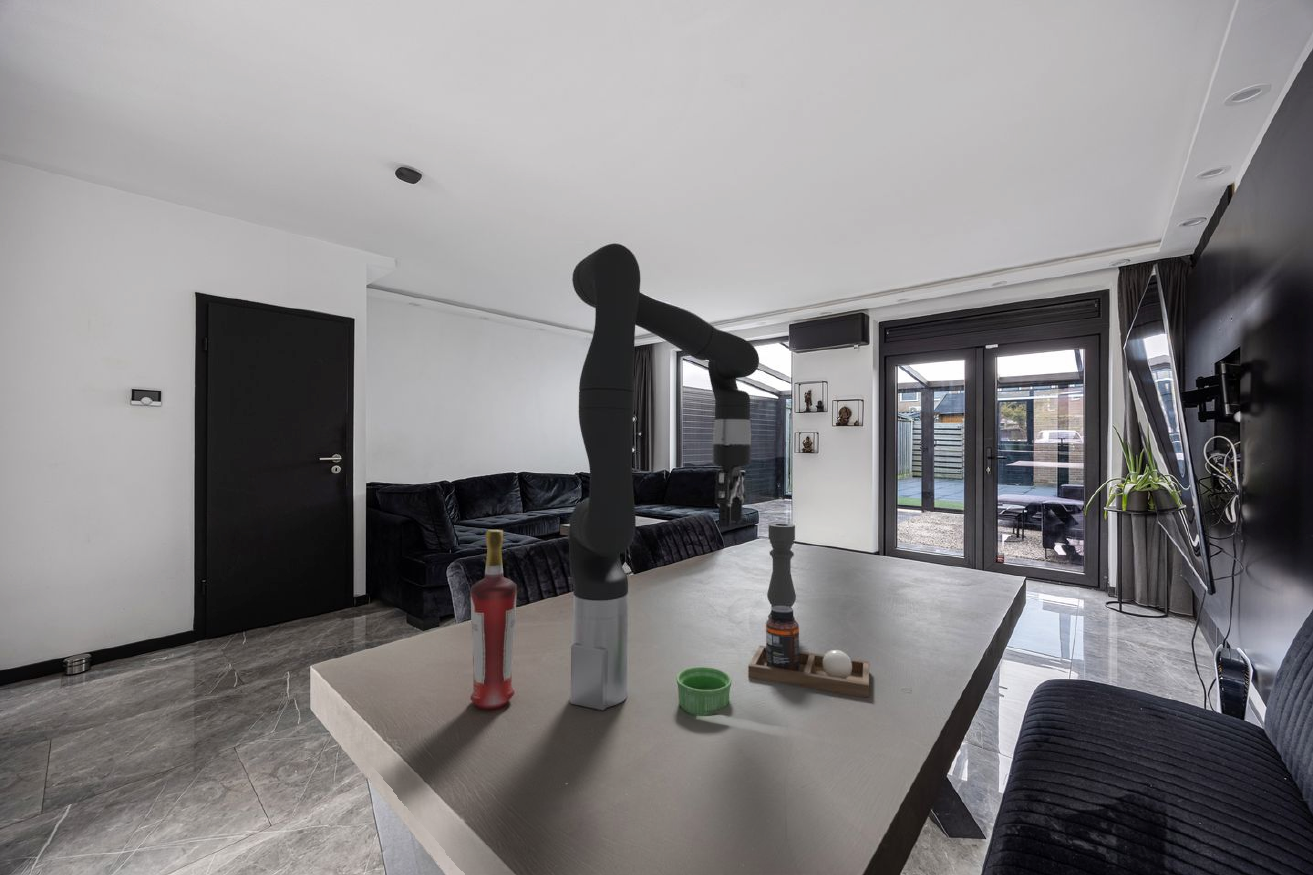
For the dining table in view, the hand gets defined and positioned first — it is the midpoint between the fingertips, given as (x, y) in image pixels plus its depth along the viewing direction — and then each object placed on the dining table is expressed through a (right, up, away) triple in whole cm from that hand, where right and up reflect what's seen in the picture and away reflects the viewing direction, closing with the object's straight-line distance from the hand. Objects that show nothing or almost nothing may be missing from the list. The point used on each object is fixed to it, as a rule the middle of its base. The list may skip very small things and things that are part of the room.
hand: (730, 523), depth 107 cm
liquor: (-42, -26, -20) cm, 53 cm away
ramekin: (-7, -27, -20) cm, 34 cm away
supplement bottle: (+8, -26, -9) cm, 29 cm away
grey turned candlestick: (+13, -27, +10) cm, 32 cm away
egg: (+17, -26, -12) cm, 33 cm away
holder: (+13, -27, -10) cm, 31 cm away
